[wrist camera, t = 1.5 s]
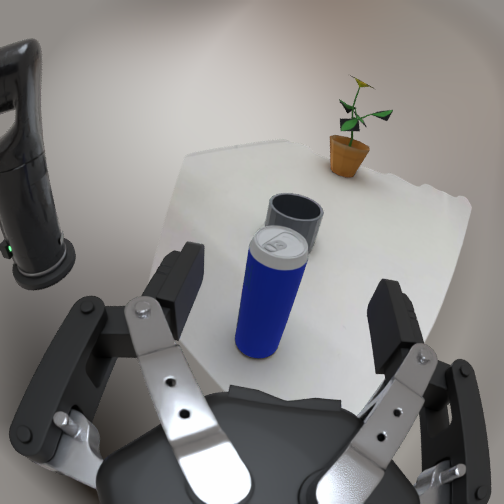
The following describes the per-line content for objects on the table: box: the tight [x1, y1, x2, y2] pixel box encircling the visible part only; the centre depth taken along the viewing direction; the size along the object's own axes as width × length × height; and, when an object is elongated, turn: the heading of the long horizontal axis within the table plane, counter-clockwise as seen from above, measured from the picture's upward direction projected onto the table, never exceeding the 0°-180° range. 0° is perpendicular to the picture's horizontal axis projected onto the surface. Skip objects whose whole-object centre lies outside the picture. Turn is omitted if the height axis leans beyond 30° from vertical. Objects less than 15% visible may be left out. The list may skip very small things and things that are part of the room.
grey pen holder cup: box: [265, 193, 324, 254], centre depth 49 cm, size 9×9×7 cm
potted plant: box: [330, 77, 393, 178], centre depth 74 cm, size 18×19×30 cm
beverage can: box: [235, 226, 308, 358], centre depth 29 cm, size 5×5×15 cm
